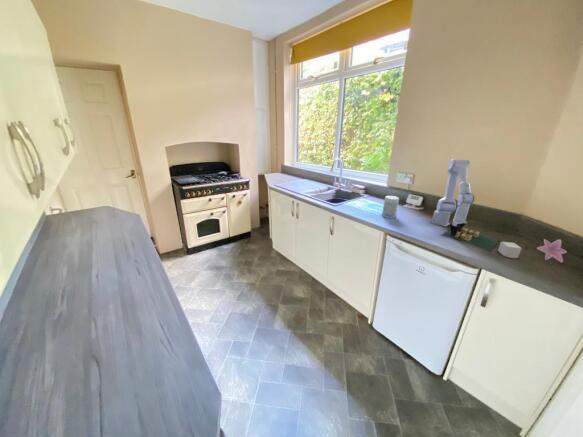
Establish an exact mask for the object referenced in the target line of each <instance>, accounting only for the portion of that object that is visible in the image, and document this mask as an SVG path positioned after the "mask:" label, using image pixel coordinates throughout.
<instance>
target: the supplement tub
mask: <svg viewBox="0 0 583 437" xmlns="http://www.w3.org/2000/svg"><path fill="white" fill-rule="evenodd" d="M399 202H400V198H399V197H398V196H395V195H386V196H385V197H384V201H383V207H382V213H381V214H382V216H383V217H384V218H385V219H395V218H396V216H397V211H398V207H399Z"/></svg>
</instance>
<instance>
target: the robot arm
mask: <svg viewBox="0 0 583 437" xmlns="http://www.w3.org/2000/svg"><path fill="white" fill-rule="evenodd" d="M470 165H471V161H470V159H455V158H451V160H450V161H448V164H447V169H446V171H447V173H448V176H447V182H446V186H445V192H444V195H443V197H441V198H440V199H438V201H437V204H436V209H435V210H434V211H433V214H432V218H431V223H432V224H435V225H438V226H442V227H445V228H446V227H447V226H449V228H450V230H451V235H452V236H455V235H456V233H457V231H458V232H460V231H461V229H462V228H464V227H465V226H466V225H467V224H468V221H466V220H467V216H468V213H469V211H470V207H471V205H473V203H474V202H475V199H476V196H475V194H474V192H472V188H471V183H470V182H469V181H468V170H469V168H470V167H471V166H470ZM457 180H459V184H458V185H457ZM456 186H457V188H458V196H457V201H456V200H455V199H454V194H455V191H456ZM454 212H455V213H454ZM453 213H454V217H453V218H452V223H451V222H450V223H449V221H450V217H451V214H453Z"/></svg>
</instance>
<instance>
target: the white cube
mask: <svg viewBox="0 0 583 437" xmlns="http://www.w3.org/2000/svg"><path fill="white" fill-rule="evenodd" d="M522 249H523V248H522V247H521V246H519V245H518V244H516V243H515V242H509V241H501V242H500V244H499V246H498V249H497V252H499V254H500V255H502V256H503V257H506V258H511V259H518V258H519V256H520V253H521V251H522Z"/></svg>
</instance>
